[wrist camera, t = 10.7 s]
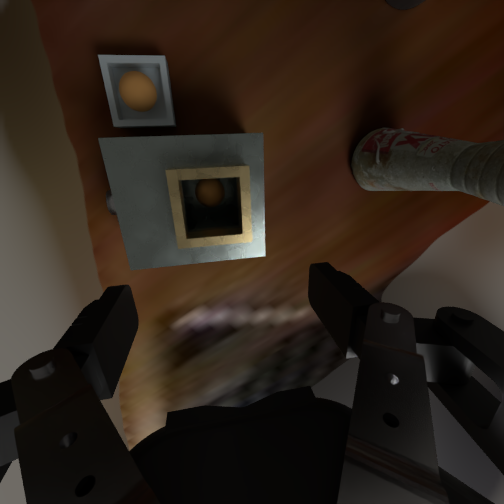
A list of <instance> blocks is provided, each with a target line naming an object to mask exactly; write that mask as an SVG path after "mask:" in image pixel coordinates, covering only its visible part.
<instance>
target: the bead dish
mask: <svg viewBox="0 0 504 504" xmlns="http://www.w3.org/2000/svg"><path fill="white" fill-rule="evenodd" d="M98 57H99V62H100V66H101V71H102V75H103V80H104V84H105V89H106V93H107V98H108V102H109V107H110V111H111V116H112V120H113V125H114V127H117V128H146V127H176V121H175V113H174V106H173V99H172V91H171V84H170V77H169V69H168V62H167V60H166V58H165V56H146V55H98ZM129 71H139V72H142V73H143V74H145V75H146V76H148V77H149V78H150V79H151V81H152V82H153V84H154V86H155V88H156V92H157V100H156V103H155V105H154V106H153V108H151V109H150V110H148V111H145V112H139V111H135V110H133V109H131V108H130V107H129V106H127V105H126V104H125V102H124V101H123V99H122V98H121V95H120V92H119V82H120V79H121V77H122V76H123V75H124V74H125V73H127V72H129Z"/></svg>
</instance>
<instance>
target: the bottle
mask: <svg viewBox="0 0 504 504" xmlns="http://www.w3.org/2000/svg"><path fill="white" fill-rule="evenodd" d="M351 167H352V170H353V173H352V174H354V177H355V179H356V181H357V182H358V184H359V185H360V186H361V187H362V188H364V189H366V190H369V191H378V190H380V191H389V190H393V191H395V190H397V191H404V190H407V191H408V190H409V191H414V190H415V191H416V190H435V191H462V192H465V193H468V194H471V195H474V196H477V197H479V198H482V199H485V200H489V201H491V202H493V203H496V204H499V205H502V206H504V140H502V141H496V142H486V143H474V142H468V141H462V140H457V139H451V138H445V137H439V136H433V135H427V134H421V133H418V132H408V131H405V130H404V129H403V128H402V129H392V128H380V129H377V130H374V131H372V132H370V133H369V134H367V135H366V136H365V137H364V138H363V139H362V140H361V141H360V142H359V144H358V145H357V147H356V149H355V151H354V153H353V157H352V163H351Z"/></svg>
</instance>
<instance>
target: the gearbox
mask: <svg viewBox="0 0 504 504" xmlns="http://www.w3.org/2000/svg"><path fill="white" fill-rule="evenodd" d="M98 140H99V144H100V148H101V152H102V156H103V160H104V164H105V168H106V172H107V176H108V180H109V184H110V188H111V190H108V191H107V193H106V202H107V206H108V209H109V211H110V213H111V214H112V215H117V217H118V221H119V225H120V229H121V233H122V237H123V241H124V245H125V249H126V253H127V257H128V261H129V265H130V269H131V270H137V269H147V268H156V267H166V266H175V265H185V264H194V263H203V262H213V261H222V260H232V259H241V258H251V257H260V256H265V214H264V155H263V133H244V134H212V135H180V136H148V137H116V138H98ZM210 178H215V179H217V180H218V181H220V182H221V184H222V185H223V187H224V192H225V194H224V198H223V200H222V202H221V203H220V204H219V205H217V206H215V207H206V206H204V205H202V204H201V203H200V202H199V201H198V200H197V198H196V195H195V189H196V186H197V184H198V182H199V181H200V180H202V179H210Z"/></svg>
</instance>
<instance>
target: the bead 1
mask: <svg viewBox="0 0 504 504" xmlns="http://www.w3.org/2000/svg"><path fill="white" fill-rule="evenodd" d="M119 92H120V95H121V98H122V99H123V101H124V102H125V104H126V105H127V106H129V107H130V108H131V109H133V110H135V111H139V112H145V111H148V110H150V109H151V108H153V106H154V105H155V103H156V100H157V92H156V88H155V86H154V84H153V82H152V81H151V79H150V78H149V77H148V76H146V75H145V74H143V73H142V72H139V71H129V72H127V73H125V74H124V75H123V76H122V77H121V79H120V82H119Z"/></svg>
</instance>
